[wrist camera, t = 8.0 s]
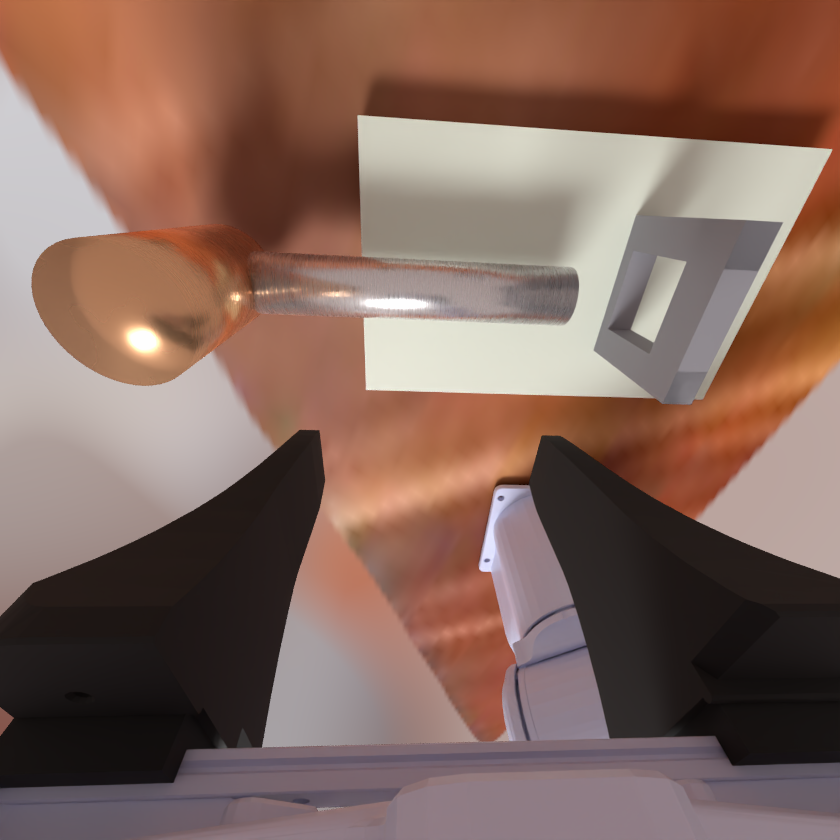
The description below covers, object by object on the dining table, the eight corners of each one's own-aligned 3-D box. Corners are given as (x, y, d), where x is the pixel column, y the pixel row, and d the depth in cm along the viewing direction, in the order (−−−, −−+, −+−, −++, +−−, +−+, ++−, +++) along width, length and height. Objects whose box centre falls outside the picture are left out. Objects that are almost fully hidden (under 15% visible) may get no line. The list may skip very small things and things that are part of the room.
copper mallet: (543, 332, 18) (616, 399, 12) (195, 318, 17) (73, 383, 11) (564, 242, 16) (666, 267, 10) (168, 221, 15) (-2, 233, 9)
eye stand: (685, 388, 23) (799, 462, 16) (368, 378, 21) (352, 454, 15) (799, 153, 16) (1059, 119, 10) (361, 122, 15) (328, 61, 9)
